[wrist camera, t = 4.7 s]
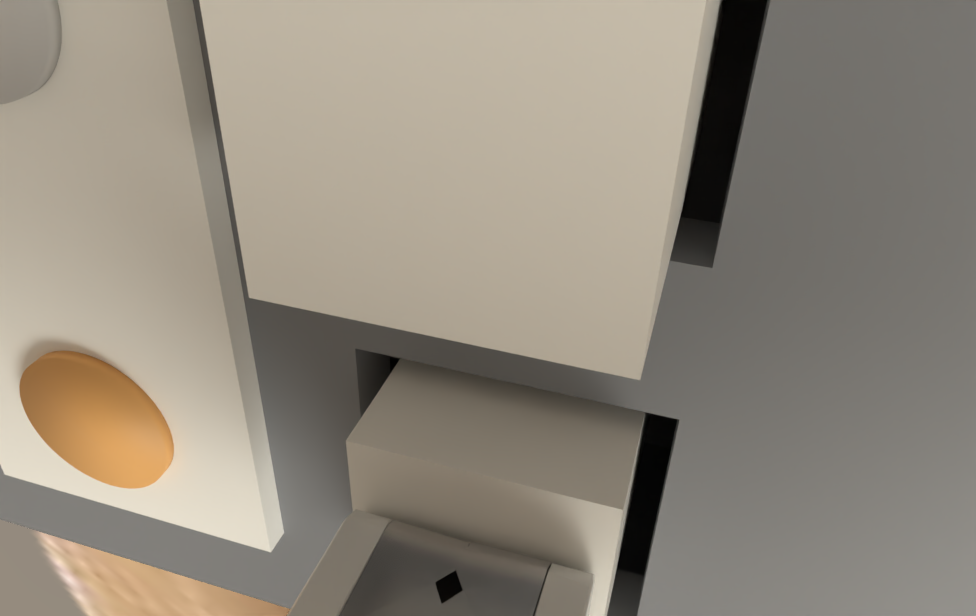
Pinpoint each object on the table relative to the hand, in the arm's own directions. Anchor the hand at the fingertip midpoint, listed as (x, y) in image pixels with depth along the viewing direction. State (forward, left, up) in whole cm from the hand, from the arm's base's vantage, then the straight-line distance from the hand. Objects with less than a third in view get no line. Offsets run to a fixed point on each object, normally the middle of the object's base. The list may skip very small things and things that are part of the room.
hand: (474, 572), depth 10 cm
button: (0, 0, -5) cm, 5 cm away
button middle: (-6, 0, -4) cm, 7 cm away
